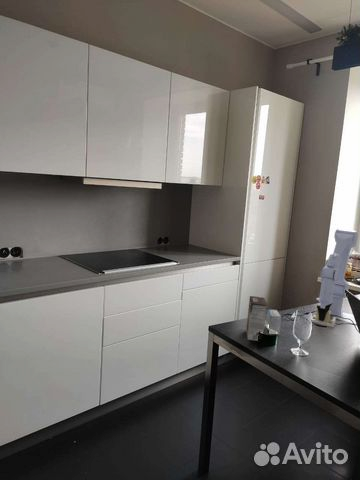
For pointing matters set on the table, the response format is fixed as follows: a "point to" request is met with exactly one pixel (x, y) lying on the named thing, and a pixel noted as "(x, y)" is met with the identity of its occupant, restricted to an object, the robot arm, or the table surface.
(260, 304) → the coffee box
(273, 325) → the medicine box
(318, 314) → the tan rectangular block
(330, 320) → the dispenser
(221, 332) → the table surface
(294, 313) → the mat
